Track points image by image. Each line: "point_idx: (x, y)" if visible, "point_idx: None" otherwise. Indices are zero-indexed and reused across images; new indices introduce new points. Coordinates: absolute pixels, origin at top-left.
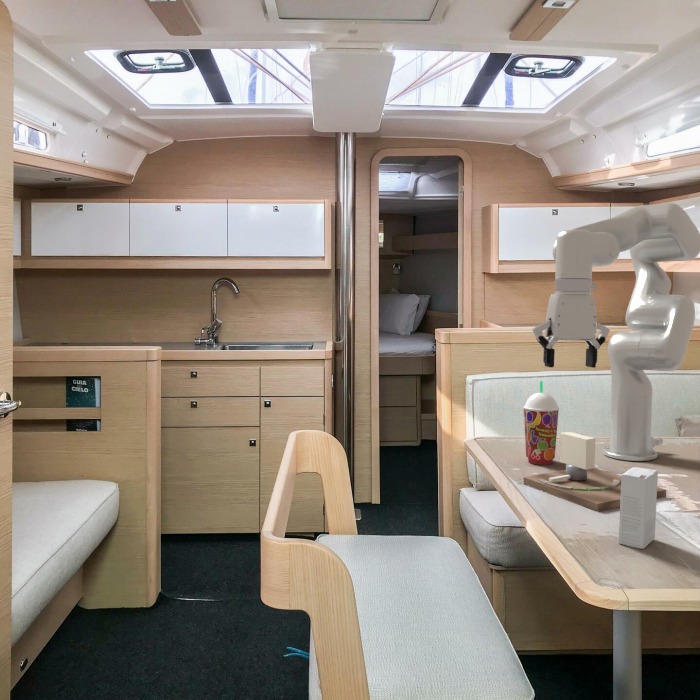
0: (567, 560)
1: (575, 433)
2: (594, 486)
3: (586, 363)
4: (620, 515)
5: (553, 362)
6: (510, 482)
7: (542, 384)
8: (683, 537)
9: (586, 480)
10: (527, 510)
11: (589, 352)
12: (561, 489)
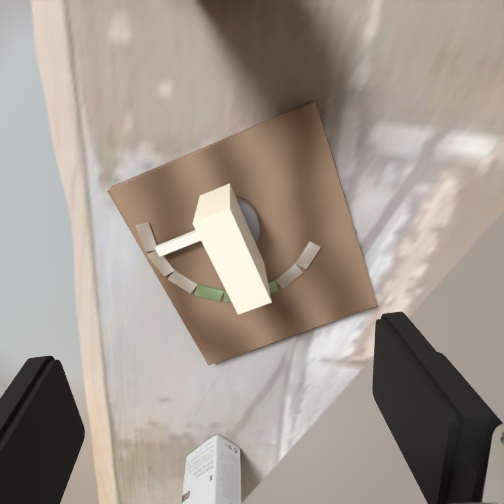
0: (106, 489)
1: (240, 237)
2: None
3: (383, 337)
4: (183, 495)
5: (69, 465)
6: (82, 169)
7: None
8: (281, 442)
9: None
10: (88, 343)
11: (426, 442)
12: (171, 288)
